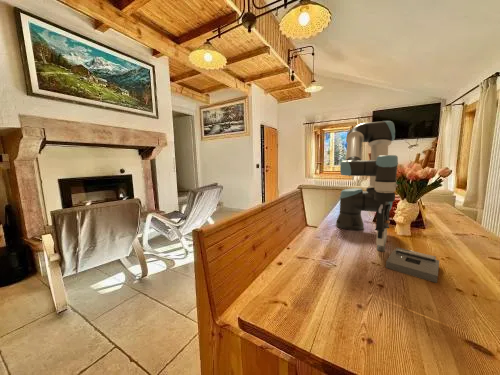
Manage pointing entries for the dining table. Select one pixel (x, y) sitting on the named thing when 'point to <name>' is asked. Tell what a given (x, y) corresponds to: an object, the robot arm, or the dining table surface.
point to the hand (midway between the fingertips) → (381, 243)
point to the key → (379, 247)
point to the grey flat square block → (414, 264)
